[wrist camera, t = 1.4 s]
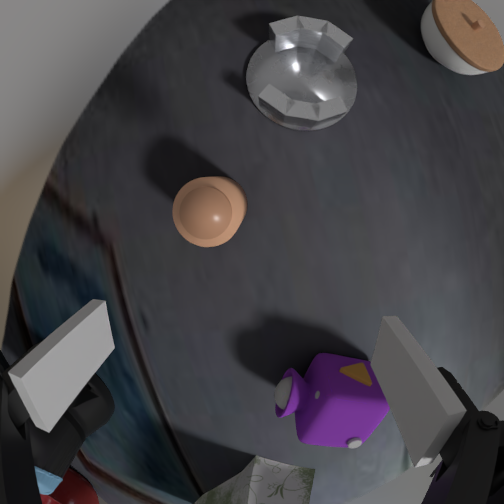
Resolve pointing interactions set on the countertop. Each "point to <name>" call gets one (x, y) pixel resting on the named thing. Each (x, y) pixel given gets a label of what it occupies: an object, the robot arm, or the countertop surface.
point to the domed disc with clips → (302, 74)
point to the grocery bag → (264, 485)
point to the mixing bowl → (72, 491)
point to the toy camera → (332, 401)
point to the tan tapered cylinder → (209, 210)
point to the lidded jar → (462, 37)
